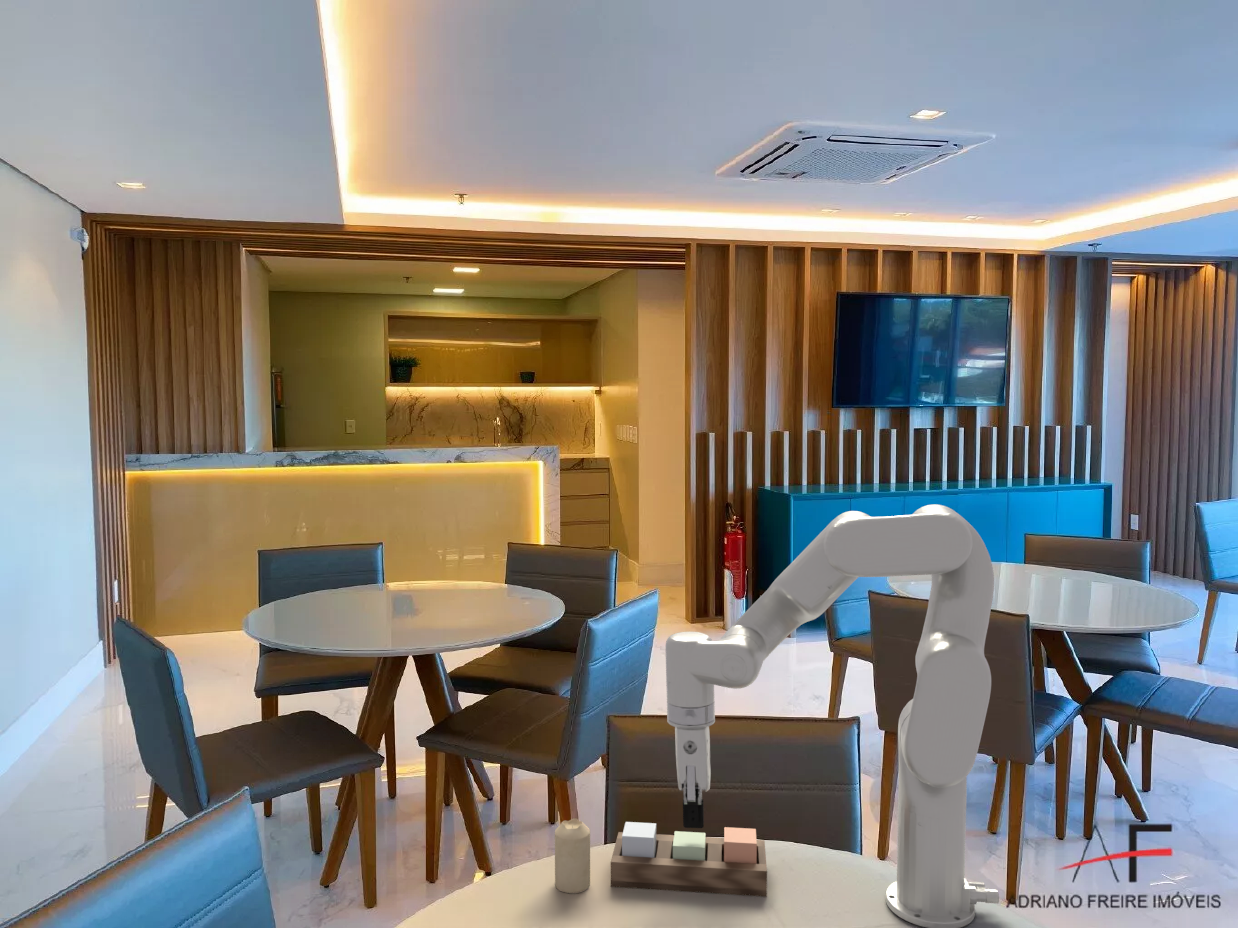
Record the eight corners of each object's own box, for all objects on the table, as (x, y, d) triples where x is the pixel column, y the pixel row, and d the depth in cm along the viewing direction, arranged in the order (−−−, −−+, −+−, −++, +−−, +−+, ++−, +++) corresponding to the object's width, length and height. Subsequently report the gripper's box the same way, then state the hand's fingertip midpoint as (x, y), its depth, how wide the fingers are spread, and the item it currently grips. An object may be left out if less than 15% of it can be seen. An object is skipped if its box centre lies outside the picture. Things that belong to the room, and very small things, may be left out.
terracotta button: (755, 856, 145) (755, 828, 144) (756, 871, 140) (756, 843, 139) (724, 854, 145) (724, 827, 145) (724, 869, 140) (724, 841, 140)
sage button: (705, 859, 146) (705, 832, 145) (704, 875, 141) (704, 847, 140) (674, 858, 146) (674, 831, 146) (672, 873, 141) (672, 845, 141)
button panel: (764, 864, 147) (764, 840, 147) (766, 896, 137) (767, 871, 137) (618, 855, 150) (618, 832, 150) (610, 886, 140) (610, 861, 140)
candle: (550, 891, 139) (550, 828, 138) (561, 873, 144) (560, 812, 144) (584, 895, 137) (584, 832, 137) (594, 877, 143) (594, 816, 142)
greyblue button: (656, 850, 147) (656, 823, 146) (653, 865, 142) (653, 837, 141) (625, 848, 147) (625, 821, 147) (622, 863, 142) (622, 836, 142)
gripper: (714, 728, 134) (716, 848, 135) (715, 697, 149) (718, 806, 150) (663, 727, 135) (666, 847, 136) (670, 697, 150) (673, 805, 151)
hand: (693, 825), depth 143 cm, fingers closed
